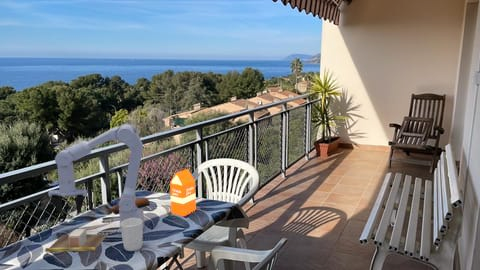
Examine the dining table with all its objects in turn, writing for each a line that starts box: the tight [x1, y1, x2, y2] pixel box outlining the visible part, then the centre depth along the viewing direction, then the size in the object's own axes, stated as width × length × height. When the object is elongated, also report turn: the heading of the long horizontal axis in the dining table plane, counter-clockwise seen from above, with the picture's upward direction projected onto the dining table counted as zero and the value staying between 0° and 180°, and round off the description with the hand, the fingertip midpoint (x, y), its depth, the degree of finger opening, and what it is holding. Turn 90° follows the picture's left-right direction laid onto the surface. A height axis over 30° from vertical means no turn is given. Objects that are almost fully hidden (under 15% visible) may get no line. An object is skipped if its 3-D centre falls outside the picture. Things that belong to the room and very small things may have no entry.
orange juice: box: [169, 168, 197, 217], centre depth 173 cm, size 8×9×20 cm
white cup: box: [120, 218, 144, 252], centre depth 139 cm, size 8×8×10 cm
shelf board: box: [44, 233, 108, 253], centre depth 143 cm, size 18×14×2 cm
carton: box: [68, 228, 87, 248], centre depth 140 cm, size 4×6×5 cm, turn 0°
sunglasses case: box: [109, 197, 151, 215], centre depth 180 cm, size 18×7×7 cm, turn 133°
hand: (69, 213), depth 149 cm, fingers open, 7 cm apart
